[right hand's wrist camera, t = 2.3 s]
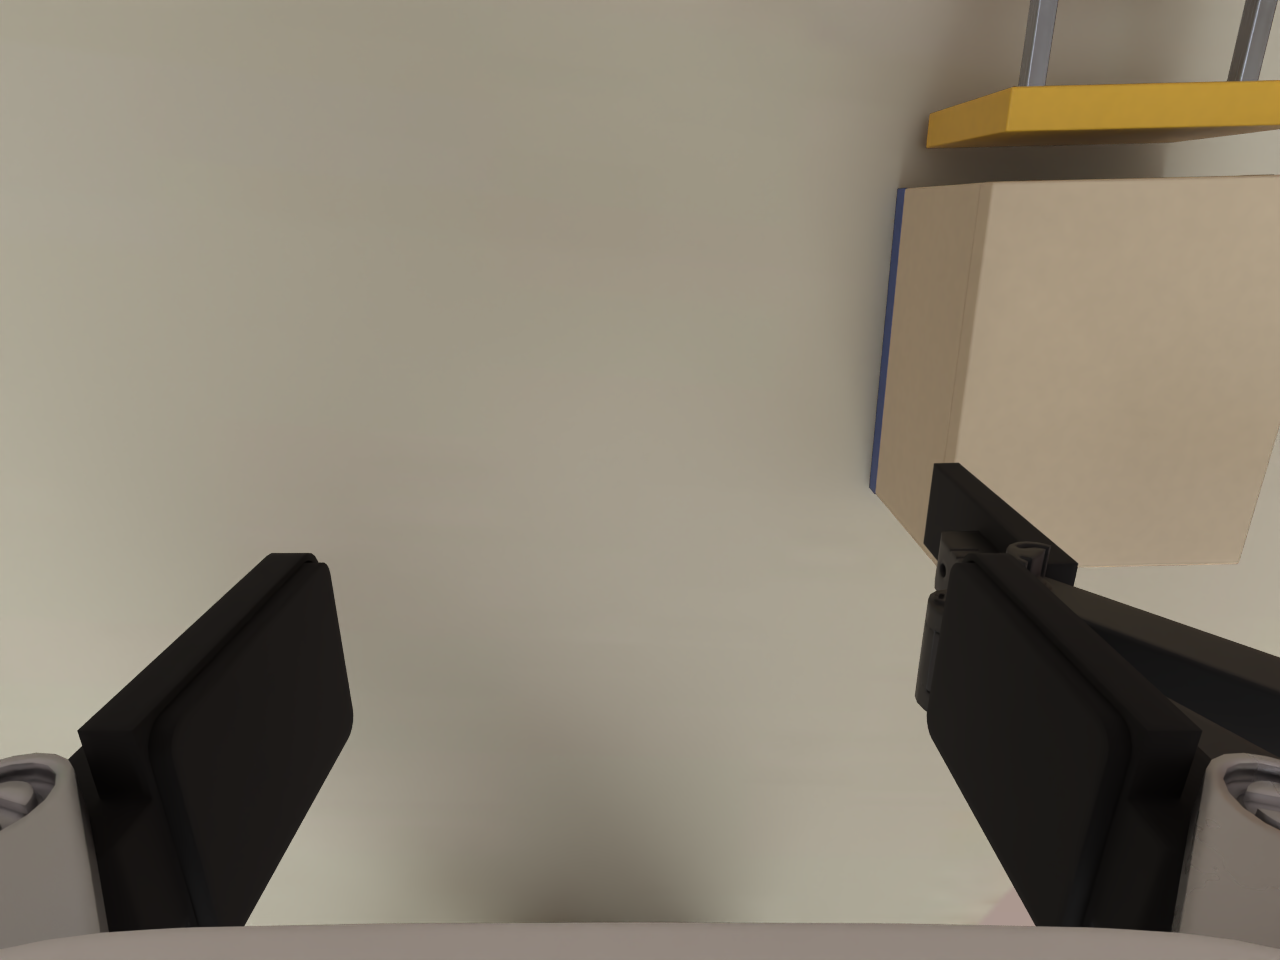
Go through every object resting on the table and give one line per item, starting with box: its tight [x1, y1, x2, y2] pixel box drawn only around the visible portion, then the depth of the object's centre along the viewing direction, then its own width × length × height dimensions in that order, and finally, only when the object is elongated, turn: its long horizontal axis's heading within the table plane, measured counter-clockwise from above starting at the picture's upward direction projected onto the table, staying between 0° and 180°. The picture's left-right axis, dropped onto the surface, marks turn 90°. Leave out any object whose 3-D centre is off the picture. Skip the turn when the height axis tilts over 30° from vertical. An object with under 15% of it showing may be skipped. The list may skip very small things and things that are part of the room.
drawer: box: [926, 0, 1280, 181], centre depth 25 cm, size 17×9×6 cm, turn 1°
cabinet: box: [869, 175, 1280, 567], centre depth 27 cm, size 13×11×8 cm
